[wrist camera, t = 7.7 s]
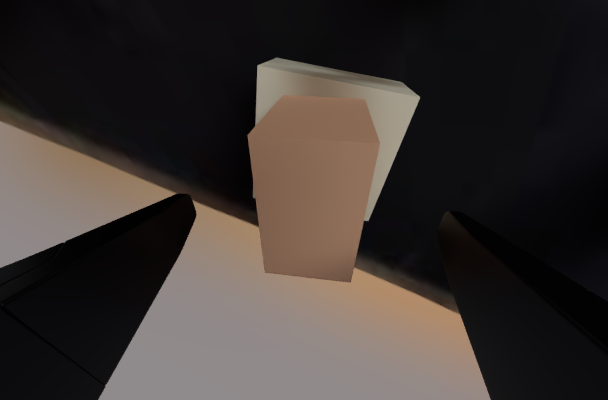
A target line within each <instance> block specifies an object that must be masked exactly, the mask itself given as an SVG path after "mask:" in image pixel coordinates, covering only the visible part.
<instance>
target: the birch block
mask: <svg viewBox="0 0 608 400" xmlns="http://www.w3.org/2000/svg"><path fill="white" fill-rule="evenodd" d="M283 95H292V96H314V97H336V98H358V99H365V101H366V103H367V106H368V109H369V112H370V115H371V118H372V121H373V124H374V127H375V130H376V133H377V135H378V138H379V141H380V147H379V151H378V156H377V161H376V166H375V170H374V175H373V180H372V184H371V189H370V194H369V199H368V203H367V208H366V213H365V217H364V220H365V221H368V220H369V218H370V216H371V213H372V211H373V209H374V206H375V204H376V201H377V199H378V197H379V194H380V192H381V189H382V187H383V185H384V182H385V180H386V178H387V175H388V173H389V170H390V168H391V166H392V163H393V161H394V158H395V156H396V154H397V151H398V149H399V147H400V144H401V142H402V139H403V137H404V135H405V132H406V130H407V127H408V125H409V123H410V120H411V118H412V116H413V113H414V111H415V108H416V106H417V104H418V101H419V99H420V97H419V96H418V95H417V94H415V93H414V92H413V91H412V90H410V89H409V88H408V87H407V86H406V85H404V84H403V83H402V82H398V81H393V80H388V79H382V78H377V77H372V76H367V75H362V74H357V73H352V72H347V71H342V70H336V69H331V68H326V67H321V66H316V65H311V64H306V63H301V62H296V61H290V60H285V59H280V58H275V59H273V60H270V61H268V62H265V63H263V64H260V65H258V69H257V97H256V124H255V126H256V125H257V124H258V123H259V122H260V120H261V119H262V118H263V117H264V116H265V115H266V114H267V113H268V111H269V110H270V109H271V108H272V107H273V106H274V105H275V104H276V102H277V101H278V100H279V99H280V98H281V97H282V96H283ZM253 198H255V190H254V182H253Z"/></svg>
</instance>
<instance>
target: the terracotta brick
mask: <svg viewBox="0 0 608 400" xmlns="http://www.w3.org/2000/svg"><path fill="white" fill-rule="evenodd" d="M248 142H249V150H250V158H251V166H252V174H253V182H254V190H255V198H256V206H257V214H258V222H259V229H260V238H261V246H262V253H263V261H264V269H265V273H274V274H283V275H292V276H300V277H308V278H317V279H326V280H334V281H343V282H351V278H352V274H353V269H354V264H355V260H356V255H357V250H358V246H359V241H360V236H361V231H362V227H363V222H364V217H365V213H366V208H367V203H368V199H369V194H370V189H371V184H372V180H373V175H374V170H375V166H376V161H377V156H378V151H379V147H380V141H379V138H378V135H377V133H376V130H375V127H374V124H373V121H372V118H371V115H370V112H369V109H368V106H367V103H366V101H365V99H358V98H336V97H314V96H292V95H283V96H282V97H281V98H280V99H279V100H278V101H277V102H276V104H275V105H274V106H273V107H272V108H271V109H270V110H269V111H268V113H267V114H266V115H265V116H264V117H263V118H262V119H261V120H260V122H259V123H258V124H257V125H256V126H255V127H254V128H253V130H252V131H251V132H250V133H249V134H248Z"/></svg>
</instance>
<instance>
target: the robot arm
mask: <svg viewBox="0 0 608 400" xmlns="http://www.w3.org/2000/svg"><path fill="white" fill-rule="evenodd" d="M195 218H196V210H195V207H194V204H193V201H192V198H191V196H190V195H188V194H175V195H173V196H171V197H168V198H166V199H164V200H161V201H159V202H157V203H155V204H152V205H150V206H147V207H145V208H143V209H140V210H138V211H136V212H133V213H131V214H129V215H126V216H124V217H121V218H119V219H117V220H115V221H112V222H110V223H107V224H105V225H103V226H100V227H98V228H96V229H93V230H91V231H89V232H86V233H84V234H82V235H79V236H77V237H75V238H72V239H70V240H67V241H66V242H65V243H60V244H58V245H56V246H53V247H51V248H49V249H46V250H44V251H41V252H39V253H36V254H34V255H32V256H29V257H27V258H25V259H22V260H19V261H17V262H14V263H12V264H9V265H7V266H4V267H2V268H0V400H98V399H99V397H100V395H101V394H102V392H103V390H104V388H105V385H106V384H107V382H108V381H109V379H110V377H111V375H112V374H113V372H114V370H115V368H116V367H117V365H118V363H119V361H120V360H121V358H122V356H123V354H124V352H125V351H126V349H127V347H128V345H129V344H130V342H131V340H132V338H133V336H134V335H135V333H136V331H137V329H138V328H139V326H140V324H141V322H142V321H143V319H144V317H145V315H146V313H147V311H148V310H149V308H150V306H151V305H152V302H153V301H154V299H155V297H156V296H157V294H158V292H159V290H160V289H161V287H162V285H163V283H164V281H165V280H166V278H167V276H168V274H169V273H170V271H171V269H172V267H173V265H174V264H175V262H176V260H177V258H178V257H179V255H180V253H181V251H182V249H183V246H184V244H185V242H186V240H187V237H188V235H189V233H190V230H191V228H192V226H193V223H194V221H195ZM437 236H438V240H439V245H440V249H441V254H442V258H443V262H444V267H445V271H446V275H447V278H448V281H449V284H450V287H451V290H452V293H453V295H454V298H455V301H456V304H457V307H458V309H459V312H460V315H461V318H462V321H463V323H464V326H465V329H466V332H467V334H468V337H469V340H470V343H471V345H472V348H473V351H474V354H475V357H476V359H477V362H478V365H479V368H480V371H481V373H482V376H483V379H484V382H485V385H486V387H487V390H488V393H489V396H490V399H491V400H608V302H607V301H606V300H604V299H602V298H601V297H599V296H598V295H596V294H594V293H593V292H591V291H587V289H586V288H584V287H583V286H581V285H580V284H578V283H576V282H575V281H573V280H571V279H570V278H568V277H566V276H565V275H563V274H562V273H560V272H558V271H557V270H555V269H553V268H552V267H550V266H549V265H547V264H545V263H544V262H542V261H540V260H539V259H537V258H535V257H534V256H532V255H531V254H529V253H527V252H526V251H524V250H522V249H521V248H519V247H517V246H516V245H514V244H513V243H511V242H509V241H508V240H506V239H504V238H503V237H501V236H500V235H498V234H496V233H495V232H493V231H491V230H490V229H488V228H486V227H485V226H483V225H482V224H480V223H478V222H477V221H475V220H473V219H472V218H470V217H469V216H467V215H465V214H464V213H462V212H458V211H447V212H446V213H445V214H444V216H443V219H442V221H441V223H440V226H439V228H438V232H437Z"/></svg>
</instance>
